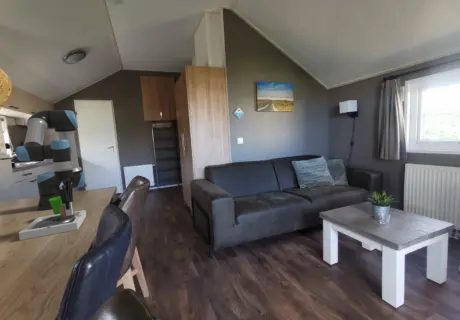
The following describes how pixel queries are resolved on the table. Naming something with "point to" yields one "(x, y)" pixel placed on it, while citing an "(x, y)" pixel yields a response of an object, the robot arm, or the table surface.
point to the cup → (56, 204)
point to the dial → (57, 219)
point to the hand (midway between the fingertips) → (69, 215)
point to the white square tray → (33, 232)
